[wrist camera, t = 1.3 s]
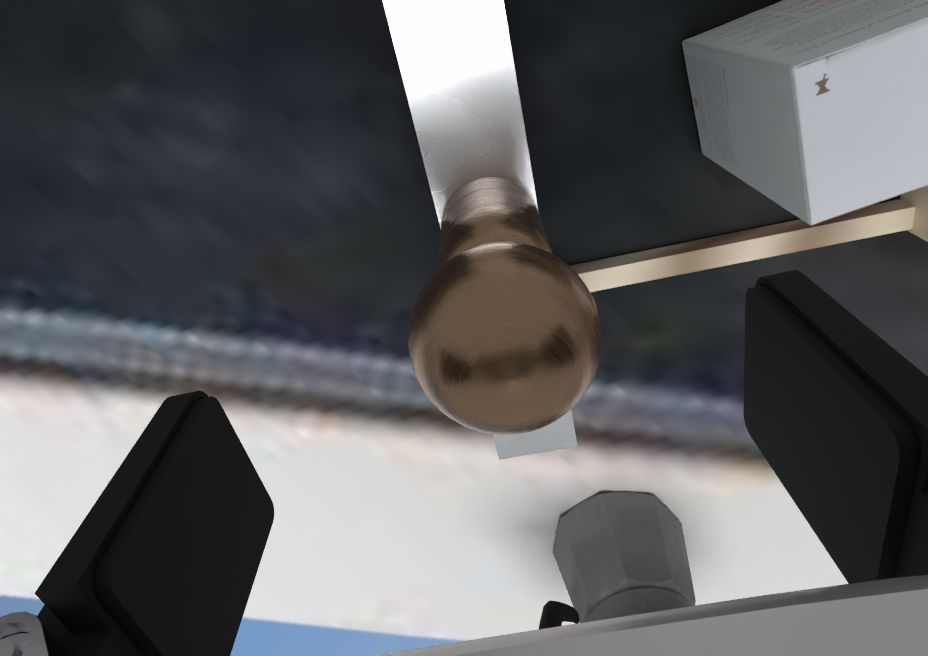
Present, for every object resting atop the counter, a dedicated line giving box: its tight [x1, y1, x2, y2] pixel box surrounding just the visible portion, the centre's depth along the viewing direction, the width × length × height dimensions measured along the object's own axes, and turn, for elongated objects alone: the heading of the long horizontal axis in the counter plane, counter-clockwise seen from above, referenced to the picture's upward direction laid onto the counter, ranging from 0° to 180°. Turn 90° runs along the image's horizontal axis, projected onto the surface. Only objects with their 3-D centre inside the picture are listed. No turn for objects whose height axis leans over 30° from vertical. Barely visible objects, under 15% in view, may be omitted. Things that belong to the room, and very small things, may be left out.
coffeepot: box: [539, 491, 696, 630], centre depth 35 cm, size 15×9×18 cm, turn 64°
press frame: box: [570, 186, 928, 292], centre depth 24 cm, size 26×19×10 cm
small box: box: [682, 0, 928, 225], centre depth 23 cm, size 8×6×10 cm
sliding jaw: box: [383, 0, 602, 460], centre depth 19 cm, size 4×19×20 cm, turn 13°
